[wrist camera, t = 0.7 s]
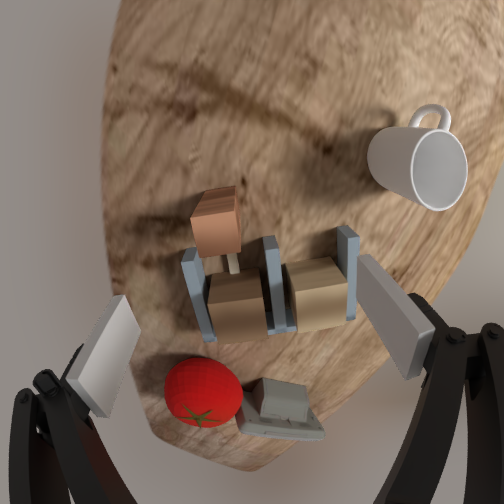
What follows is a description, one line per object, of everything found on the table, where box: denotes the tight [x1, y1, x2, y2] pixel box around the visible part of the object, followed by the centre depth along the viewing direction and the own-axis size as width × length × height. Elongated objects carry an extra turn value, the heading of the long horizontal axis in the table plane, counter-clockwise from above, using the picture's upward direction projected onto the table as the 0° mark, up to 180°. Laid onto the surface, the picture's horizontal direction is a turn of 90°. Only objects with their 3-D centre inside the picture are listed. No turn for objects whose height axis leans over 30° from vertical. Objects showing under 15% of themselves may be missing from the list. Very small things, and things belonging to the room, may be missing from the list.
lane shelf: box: [181, 225, 360, 342], centre depth 35 cm, size 12×20×4 cm, turn 98°
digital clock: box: [235, 378, 325, 441], centre depth 42 cm, size 16×9×11 cm, turn 55°
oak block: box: [285, 256, 348, 334], centre depth 34 cm, size 6×6×7 cm
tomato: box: [164, 358, 243, 428], centre depth 38 cm, size 11×12×10 cm
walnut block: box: [190, 186, 269, 345], centre depth 30 cm, size 17×6×11 cm, turn 8°
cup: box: [367, 104, 468, 211], centre depth 25 cm, size 8×12×10 cm
